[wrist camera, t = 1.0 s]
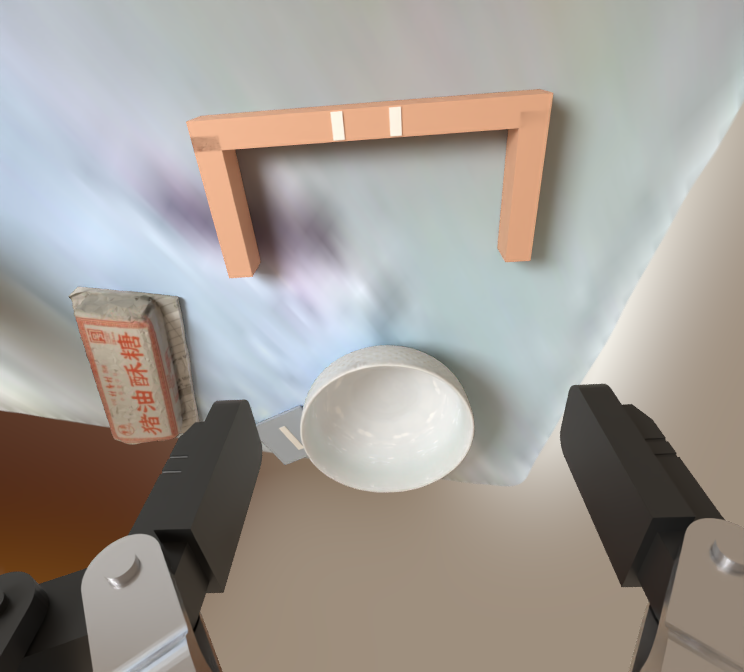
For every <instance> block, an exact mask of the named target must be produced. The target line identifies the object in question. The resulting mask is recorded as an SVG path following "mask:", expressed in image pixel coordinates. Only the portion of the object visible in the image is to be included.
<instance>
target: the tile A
mask: <svg viewBox="0 0 744 672" xmlns="http://www.w3.org/2000/svg"><path fill="white" fill-rule="evenodd" d="M302 411H303V407H302V406H301V405H299V406H297V407H295V408H292V409H290V410H288V411H285V412H283V413H281V414H278V415H276V416H274V417H271V418H269V419H267V420H264V421H262V422H260V423H257V424H256V427H257V430H258V433H259V436H260V440H261V441H262V442H263V443H264V444H265V445H266V446H267V447H268V448H269V449H270V450H271V451H272V452H273V453H274V454H275V455H276V456H277V457H278V458H279V459H280V460H281V461H282V463H283V464H284V465H286V464H289V463H291V462H294V461H297V460H299V459H302V458H305V457H307V456H308V455H307V454H306V452H305V450H304V447H303V444H302V441H301V436H300V423H301V416H302Z"/></svg>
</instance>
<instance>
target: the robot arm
mask: <svg viewBox="0 0 744 672" xmlns="http://www.w3.org/2000/svg"><path fill="white" fill-rule="evenodd" d="M560 441H561V447H562V451H563V454H564V457H565V459H566V461H567V464H568V466H569V468H570V471H571V473H572V475H573V478H574V480H575V482H576V484H577V487H578V489H579V491H580V493H581V496H582V498H583V500H584V502H585V505H586V507H587V509H588V511H589V514H590V516H591V518H592V521H593V523H594V525H595V527H596V530H597V532H598V534H599V536H600V539H601V541H602V543H603V546H604V548H605V550H606V553H607V555H608V557H609V559H610V562H611V564H612V566H613V568H614V571H615V573H616V575H617V577H618V580H619V582H620V584H621V587H642V588H643V590H644V592H645V594H646V596H647V598H648V603H647V606H646V608H645V612H644V616H643V619H642V623H641V627H640V630H639V634H638V638H637V641H636V645H635V649H634V653H633V656H632V660H631V664H630V667H629V672H744V528H743V527H741V526H739V525H737V524H734V523H732V522H729V521H725V519H724V518H723V517H722V516H721V515H720V513H719V512H718V510H717V509H716V507H715V506H714V505H713V503H712V502H711V501H710V499H709V498H708V496H707V495H706V494H705V492H704V491H703V489H702V488H701V487H700V485H699V484H698V482H697V481H696V480H695V478H694V477H693V475H692V474H691V473H690V471H689V470H688V469H687V467H686V466H685V465H684V463H683V461H682V460H681V459H680V457H677V456H676V452H675V450H674V449H673V448H672V446H671V445H670V443H669V442H666V440H665V436H664V435H663V434H662V432H661V431H660V430H659V428H658V427H657V425H656V424H655V423H654V421H653V420H652V419H651V418H650V417H648V416H647V415H646V414H644V413H643V412H642V411H640V410H639V409H637V408H636V407H635V406H633V405H632V404H628V405H622V404H621V403H620V402H619V400H618V399H617V397H616V395H615V394H614V392H613V391H612V389H611V388H610V387H609V386H608V385H606V384H589V385H573V386H571V388H570V390H569V393H568V398H567V402H566V407H565V412H564V416H563V421H562V426H561V431H560ZM261 461H262V444H261V440H260V436H259V433H258V430H257V427H256V424H255V420H254V417H253V414H252V411H251V408H250V405H249V403H248V401H247V400H225V401H216V402H214V404H213V405H212V407H211V409H210V411H209V413H208V416H207V418H206V420H205V422H195V423H194V424H193V425H192V426H191V427H190V428H189V429H188V430H187V431H186V432H185V433H184V434H183V435H182V436H181V437H180V438H179V439H178V441H177V443H176V445H175V447H174V449H173V451H172V453H171V454H170V459H168V460H167V462H166V464H165V466H164V468H163V470H162V474H160V476H159V477H158V479H157V481H156V483H155V485H154V487H153V489H152V491H151V493H150V495H149V497H148V499H147V501H146V502H145V504H144V506H143V508H142V510H141V512H140V514H139V516H138V518H137V520H136V522H135V524H134V526H133V527H132V529H131V531H130V533H129V534H128V536H126V537H123V538H121V539H119V540H117V541H115V542H113V543H112V544H110V545H109V546H108V547H106V548H105V549H104V550H103V551H101V552H100V553H99V554H98V555H97V556H96V558H94V560H93V561H92V562H91V564H90V565H89V566H88V568H86V569H83V570H80V571H77V572H74V573H71V574H68V575H65V576H62V577H59V578H56V579H53V580H50V581H47V582H44V583H41V584H38V583H37V582H36V581H35V580H34V579H33V578H32V577H31V576H30V575H29V574H27V573H24V572H10V573H6V574H3V575H0V672H223V671H222V668H221V666H220V663H219V660H218V657H217V655H216V652H215V649H214V647H213V644H212V641H211V638H210V636H209V633H208V630H207V628H206V625H205V622H204V619H203V617H202V614H201V612H200V610H201V606H202V603H203V600H204V597H205V594H206V593H223V592H224V589H225V586H226V582H227V579H228V575H229V572H230V568H231V565H232V562H233V558H234V555H235V551H236V548H237V544H238V541H239V538H240V534H241V531H242V528H243V524H244V521H245V517H246V514H247V510H248V507H249V504H250V500H251V497H252V493H253V490H254V487H255V483H256V480H257V476H258V473H259V469H260V466H261Z"/></svg>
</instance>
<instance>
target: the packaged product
mask: <svg viewBox="0 0 744 672" xmlns="http://www.w3.org/2000/svg"><path fill="white" fill-rule="evenodd" d="M69 298H70V299H71V300H72V302H73V309H74V316H75V317H76V321H77V323H78V328H79V332H80V335H81V340H82V341H83V345H84V347H85V350H86V356H87V358H88V360H89V362H90V364H91V369H92V372H93V375H94V379H95V382H96V384H97V389H98V391H99V394H100V397H101V400H102V404H103V406H104V410H105V413H106V416H107V419H108V422H109V425H110V429H111V432H112V435H113V437H114V439H116V440H118V441H122V442H123V443H127V444H139V443H143V442H152V441H158V440H159V441H165V440H169V439H174V438H175V437H177V436H178V434H179V433H185V432H186V431H187V430H188V429H189V428H190V427H191V426H192V425H193V424H194V423H195V422H199V416H198V411H197V406H196V401H195V397H194V389H193V381H192V374H191V364H190V357H189V351H188V348H187V344H186V340H185V331H184V324H183V319H182V313H181V308H180V304H179V299H178V296H170V295H161V294H151V293H142V292H132V291H117V290H109V289H99V288H88V287H77V288H76V289H75V290H74V291H73V292H72V293H71V294H70V295H69Z"/></svg>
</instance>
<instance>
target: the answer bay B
mask: <svg viewBox="0 0 744 672" xmlns="http://www.w3.org/2000/svg"><path fill="white" fill-rule="evenodd" d="M552 98H553V93H552V92H548V91H544V90H541V89H536V90H523V91H510V92H498V93H485V94H472V95H460V96H447V97H434V98H422V99H409V100H396V101H384V102H371V103H358V104H346V105H333V106H320V107H308V108H295V109H283V110H270V111H257V112H245V113H232V114H219V115H207V116H200V117H197V118H194V119H192V120H189V121H187V122H186V123H187V127H188V130H189V134H190V138H191V141H192V145H193V149H194V152H195V156H196V159H197V163H198V167H199V170H200V174H201V178H202V181H203V185H204V188H205V192H206V196H207V199H208V203H209V206H210V210H211V214H212V217H213V221H214V225H215V228H216V232H217V235H218V239H219V243H220V246H221V250H222V254H223V257H224V261H225V264H226V268H227V272H228V275H229V278H239V277H253V275H254V273H255V271H256V270H257V268H258V266H259V264H260V263H261V261H260V257H259V252H258V248H257V243H256V239H255V235H254V230H253V226H252V221H251V217H250V213H249V208H248V204H247V200H246V195H245V191H244V186H243V182H242V178H241V173H240V169H239V164H238V160H237V156H236V151H235V149H246V148H259V147H273V146H286V145H299V144H313V143H326V142H340V141H353V140H367V139H380V138H394V137H407V136H421V135H434V134H447V133H461V132H474V131H488V130H501V129H508V136H507V147H506V158H505V169H504V180H503V191H502V203H501V214H500V225H499V236H498V247H497V248H498V250H499V252H500V253H501V255H502V257H503V259H504V260H505V262H516V261H530V260H531V253H532V245H533V238H534V231H535V223H536V216H537V209H538V201H539V194H540V187H541V179H542V172H543V165H544V157H545V150H546V143H547V135H548V128H549V120H550V113H551V106H552Z"/></svg>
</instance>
